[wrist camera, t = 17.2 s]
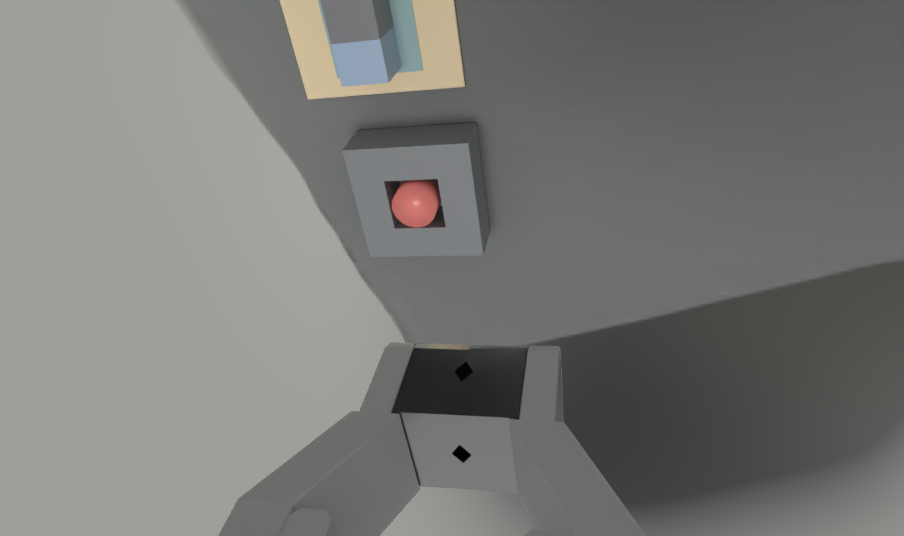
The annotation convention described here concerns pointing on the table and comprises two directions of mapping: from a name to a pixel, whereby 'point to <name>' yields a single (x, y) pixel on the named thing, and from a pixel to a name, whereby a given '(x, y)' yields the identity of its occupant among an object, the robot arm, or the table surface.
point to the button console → (418, 158)
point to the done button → (416, 202)
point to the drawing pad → (418, 39)
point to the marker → (362, 40)
